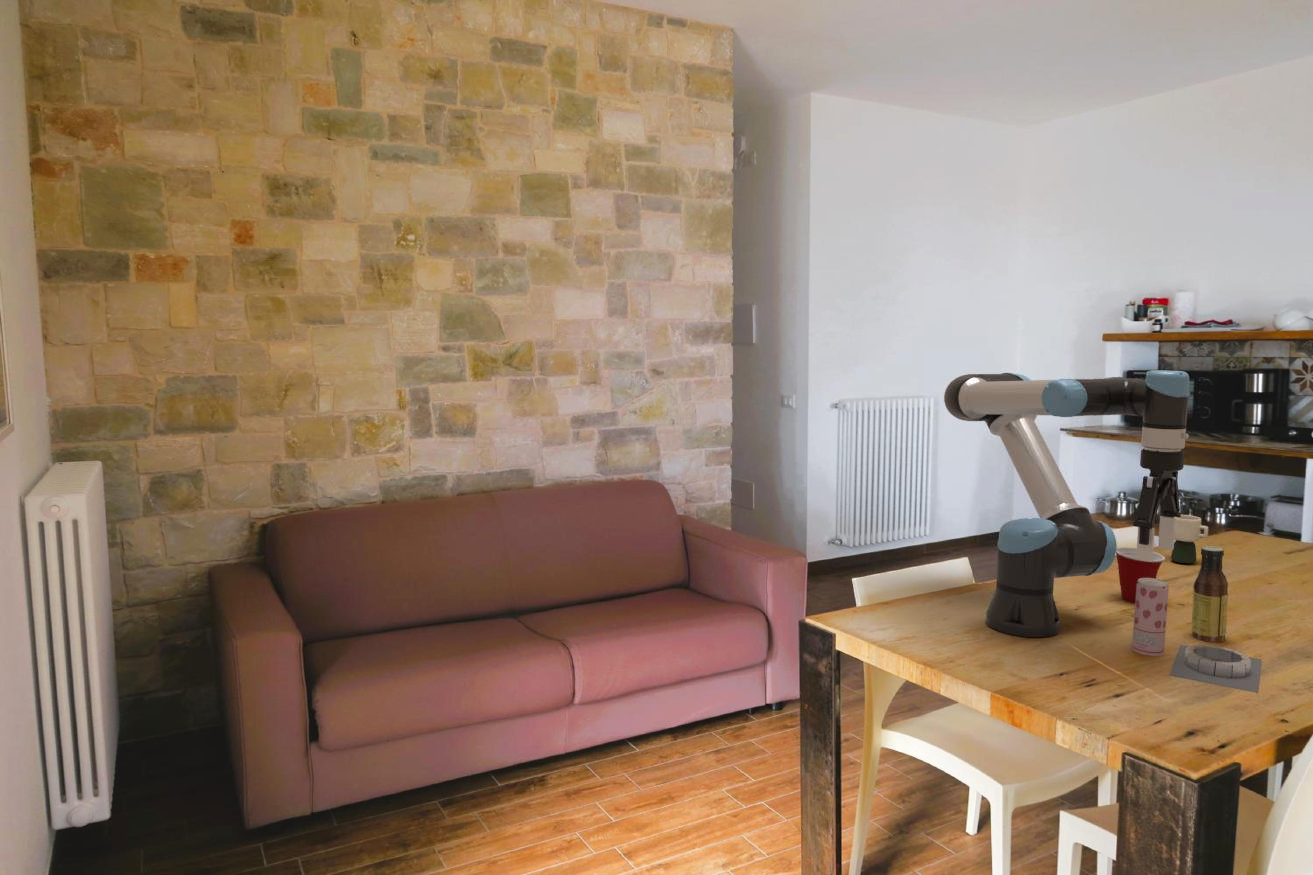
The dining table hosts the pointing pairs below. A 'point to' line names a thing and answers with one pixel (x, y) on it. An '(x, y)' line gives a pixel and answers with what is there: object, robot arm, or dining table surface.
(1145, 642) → the beverage can
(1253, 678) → the holder mat
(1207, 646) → the white segmented ring
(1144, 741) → the dining table surface
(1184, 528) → the cup on green stand
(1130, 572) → the plastic cup
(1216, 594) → the sauce bottle
